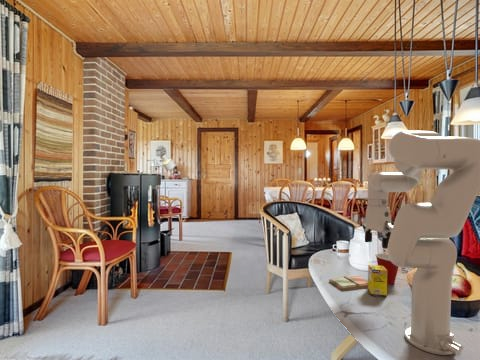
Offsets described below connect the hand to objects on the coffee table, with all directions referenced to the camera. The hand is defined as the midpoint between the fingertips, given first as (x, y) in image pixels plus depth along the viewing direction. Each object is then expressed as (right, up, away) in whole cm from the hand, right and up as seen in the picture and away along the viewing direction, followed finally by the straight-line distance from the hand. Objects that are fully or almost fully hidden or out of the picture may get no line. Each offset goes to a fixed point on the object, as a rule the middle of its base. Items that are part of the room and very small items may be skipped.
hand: (376, 244), depth 117 cm
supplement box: (0, -20, 0) cm, 20 cm away
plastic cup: (+11, -20, +13) cm, 26 cm away
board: (-7, -20, +10) cm, 23 cm away
